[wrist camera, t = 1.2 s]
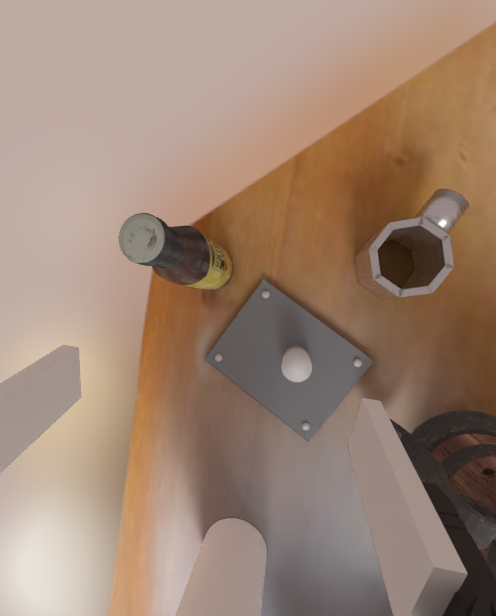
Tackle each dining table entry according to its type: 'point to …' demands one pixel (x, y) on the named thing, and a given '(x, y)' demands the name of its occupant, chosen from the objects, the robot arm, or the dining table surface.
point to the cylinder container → (227, 572)
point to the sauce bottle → (175, 252)
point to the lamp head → (415, 247)
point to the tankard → (460, 468)
